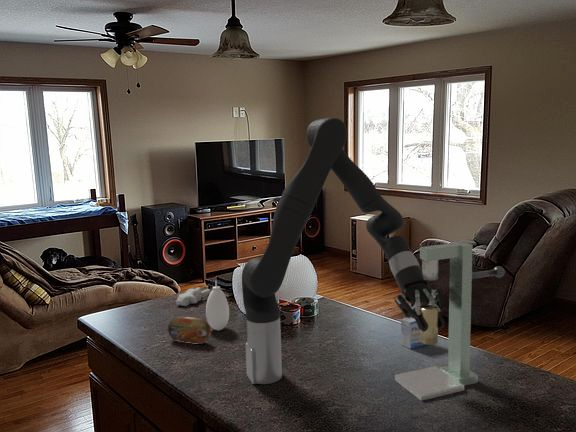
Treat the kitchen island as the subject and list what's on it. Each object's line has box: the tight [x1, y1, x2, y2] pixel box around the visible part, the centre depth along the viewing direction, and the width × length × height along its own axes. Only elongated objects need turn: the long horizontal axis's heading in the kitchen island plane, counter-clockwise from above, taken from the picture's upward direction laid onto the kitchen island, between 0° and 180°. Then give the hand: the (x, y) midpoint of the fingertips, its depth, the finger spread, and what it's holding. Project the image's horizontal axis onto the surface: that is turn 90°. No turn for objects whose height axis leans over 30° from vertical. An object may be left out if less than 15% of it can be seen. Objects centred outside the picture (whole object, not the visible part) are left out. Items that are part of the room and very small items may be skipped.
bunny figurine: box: [175, 287, 212, 307], centre depth 211 cm, size 10×5×15 cm
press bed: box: [394, 241, 506, 401], centre depth 136 cm, size 30×12×37 cm, turn 110°
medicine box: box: [400, 317, 428, 350], centre depth 161 cm, size 8×4×9 cm, turn 117°
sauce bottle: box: [205, 280, 230, 331], centre depth 178 cm, size 8×8×18 cm
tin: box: [167, 315, 211, 345], centre depth 169 cm, size 15×3×8 cm, turn 68°
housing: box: [420, 305, 439, 346], centre depth 133 cm, size 4×4×9 cm
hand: (433, 328), depth 132 cm, fingers closed on housing, 4 cm apart
